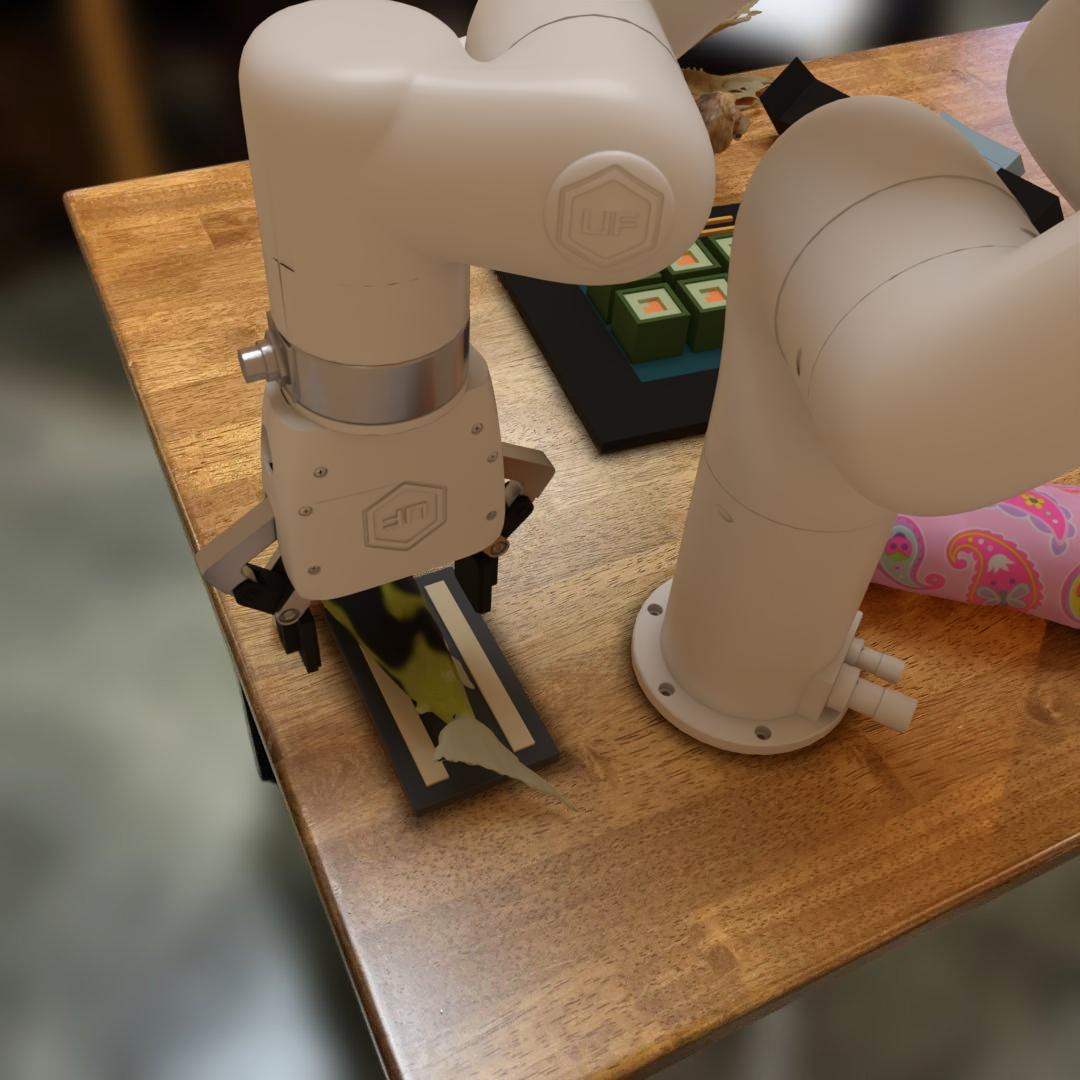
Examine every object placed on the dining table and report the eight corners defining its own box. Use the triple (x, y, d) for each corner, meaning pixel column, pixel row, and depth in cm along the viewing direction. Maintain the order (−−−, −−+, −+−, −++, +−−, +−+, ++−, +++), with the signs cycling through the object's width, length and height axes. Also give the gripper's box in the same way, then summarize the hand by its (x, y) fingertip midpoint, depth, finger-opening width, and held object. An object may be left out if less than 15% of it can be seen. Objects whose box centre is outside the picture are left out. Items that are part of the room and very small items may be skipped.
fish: (173, 539, 61) (300, 580, 69) (379, 888, 47) (507, 889, 56) (296, 383, 59) (413, 445, 67) (548, 703, 45) (656, 732, 53)
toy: (817, 34, 100) (1089, 162, 82) (843, 92, 106) (1102, 224, 88) (738, 118, 101) (988, 264, 83) (768, 171, 107) (1008, 319, 89)
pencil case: (773, 564, 62) (814, 405, 61) (765, 554, 71) (801, 416, 70) (1171, 664, 59) (1220, 498, 58) (1111, 640, 68) (1152, 497, 67)
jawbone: (748, 117, 106) (788, 90, 113) (754, 8, 100) (796, -14, 107) (602, 101, 113) (648, 76, 120) (600, -1, 107) (648, -21, 114)
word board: (322, 616, 63) (321, 605, 62) (452, 574, 66) (452, 563, 65) (416, 819, 55) (415, 808, 54) (559, 761, 58) (561, 750, 57)
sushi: (759, 208, 96) (768, 169, 93) (919, 387, 80) (935, 345, 78) (483, 249, 89) (484, 208, 86) (600, 453, 74) (606, 410, 71)
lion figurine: (743, 198, 97) (764, 99, 91) (692, 210, 96) (710, 110, 89) (656, 123, 106) (670, 27, 99) (608, 132, 104) (619, 35, 98)
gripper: (175, 464, 38) (243, 739, 51) (612, 348, 44) (576, 620, 57) (126, 341, 43) (200, 622, 56) (530, 251, 49) (513, 523, 62)
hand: (391, 621), depth 56 cm, fingers open, 8 cm apart
